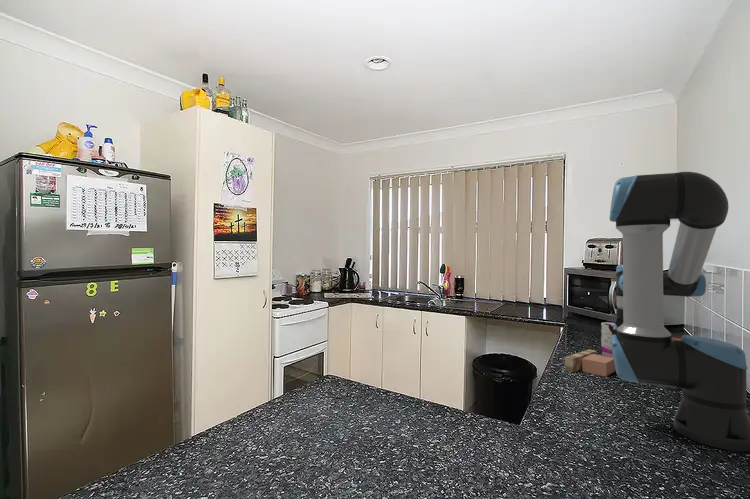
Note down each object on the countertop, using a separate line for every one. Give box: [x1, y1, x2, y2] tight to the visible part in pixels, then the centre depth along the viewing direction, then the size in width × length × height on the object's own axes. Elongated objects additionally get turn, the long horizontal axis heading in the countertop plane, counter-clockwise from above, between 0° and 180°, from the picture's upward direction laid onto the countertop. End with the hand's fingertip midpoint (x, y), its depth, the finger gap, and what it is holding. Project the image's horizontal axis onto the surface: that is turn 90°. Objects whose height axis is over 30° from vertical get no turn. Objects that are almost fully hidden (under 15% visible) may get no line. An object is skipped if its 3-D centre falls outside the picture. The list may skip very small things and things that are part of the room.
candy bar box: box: [600, 321, 618, 358], centre depth 147 cm, size 11×5×16 cm, turn 25°
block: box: [581, 354, 616, 377], centre depth 141 cm, size 10×8×5 cm
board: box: [564, 349, 598, 373], centre depth 146 cm, size 19×3×5 cm, turn 126°
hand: (629, 374), depth 132 cm, fingers closed
